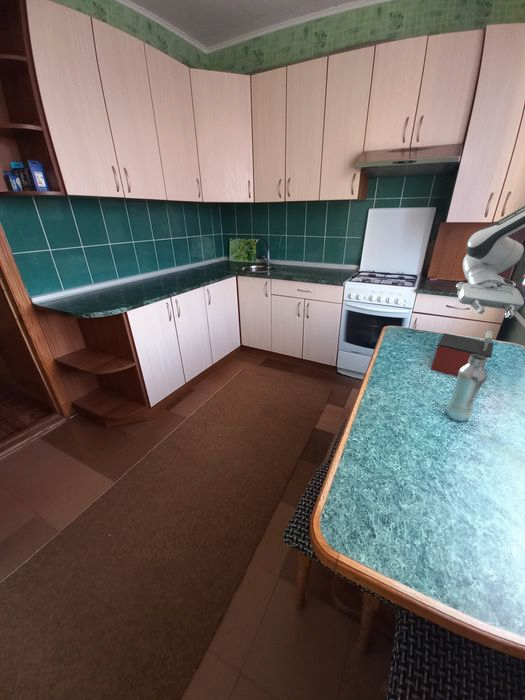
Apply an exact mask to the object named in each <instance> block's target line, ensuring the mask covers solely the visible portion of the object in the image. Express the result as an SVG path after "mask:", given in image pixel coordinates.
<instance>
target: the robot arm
mask: <svg viewBox="0 0 525 700" xmlns="http://www.w3.org/2000/svg"><path fill="white" fill-rule="evenodd" d="M523 228H525V205H522V207H519V208H518V209H516V210H514V211H513V212H512V213H510V214H508V215H506V216H505V217H503V218H500V219H498V220H497V221H495V222H494V223H491V224H489V225H487V226H485V227H482V228H480V229H478V230H476V231H475V232H473V233H472V234H471V235H470V236H469V238H468V239H467V242H466V245H465V246H466V247H465V248H466V255H465V256H464V258H463V260H462V271H463V274H464V277H465V279H466V280H467V282H464V281H459V282H457V283H456V285H455V287H456V291H457V300H458V302H459V303H460V304H461V305H470V306H471V308H473V309H474V310H475V311H476V314H478V315H479V314H480V315H483V314H484V313H485V312H486V309H485V308H491V309H499V310H504V311H506V312H505V313H504V316H505V318H507V319H512V318H513V317H514V316H515V313H514V311H515V312H516V311H518V310H520V309H521V308H522V307H523V306H524V305H525V301H524V297H523V295H522V294H521V292H520V290H519V289H518V288H516V286H517V284H516V282H515V281H513V280H509V279H507V278H505V277H503V276H501V275H500V274H502V273H504V272H505V271H507V270H509V269H511V268H513V267H514V266H516V265H517V264H518V263H520V261H521V260H522V258H523V257H524V254H525V246H524V245H523V244H522V243H521V242H518V241H517V240H514V239H513V238H511V237H509V236H510V235H513V234H515V233H517V232H518V231H521V230H522V229H523Z"/></svg>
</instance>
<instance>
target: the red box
mask: <svg viewBox="0 0 525 700" xmlns="http://www.w3.org/2000/svg"><path fill="white" fill-rule="evenodd" d="M471 355H472V354H471V353H467V352H463V351H458V350H454V349H449V348H445V347H441V346H438V345H437V347H436V351H435V354H434V358H433V361H432V365H431V368H430V370H431V371H434V372H435V371H436V372H439V373H442V374H446V375H449V376H453V377H458V372H459V370H460V368H461V367H462V366H464V365H465V364H467V363H469V362H468V360H469V358H470V356H471ZM484 357H485V356H484ZM486 358H487V359H486V362H485V364H486V363H487V361H488V358H489V357H486ZM483 367H484V368H485V366H483Z"/></svg>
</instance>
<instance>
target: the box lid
mask: <svg viewBox="0 0 525 700" xmlns="http://www.w3.org/2000/svg"><path fill="white" fill-rule="evenodd" d="M493 337H494V331H492V330H487V331H486V332H485V336H484V340H479V339H475V338H470V337H465V336H460V335H455V334H450V333H445V332H443V334H442V335H441V337H440V339H439V342H438V344H437V347H438V346H441V347H445V348H449V349H454V350H458V351H463V352H467V353H471V354H479V355H482V356H485V357H488V358H489V359H492V356H493V349H494V348H493V347H494V342H493Z"/></svg>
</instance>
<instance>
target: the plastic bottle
mask: <svg viewBox="0 0 525 700" xmlns="http://www.w3.org/2000/svg"><path fill="white" fill-rule="evenodd" d="M486 359H487V360H488V358H486V357H484V356H482V355H479V354H472V355H471V356H470V358H469V360H468V362H469V363H467V364H465V365H464V366H462V367H461V368H460V370H459V372H458V377H457V376H456V377H457V379H456V384H455V387H454V391H453V393H452V395H451V396H450V398H449V400H448V401H447V404H446V406H445V407H446V408H445V412H446V414H447V416H448V417H449V418H451V419H452V420H455V421H457V422H465V421H467V420H470V418H471V417H472V416H473V413H474V405H475V402H476V398H477V396H478V394H479V392H480V389H481V388H482V387H483V385H484V383H485V382H486V380H487V371H486V370H485V366H486V363H487V360H486ZM485 362H486V363H485ZM483 366H484V367H483Z"/></svg>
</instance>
